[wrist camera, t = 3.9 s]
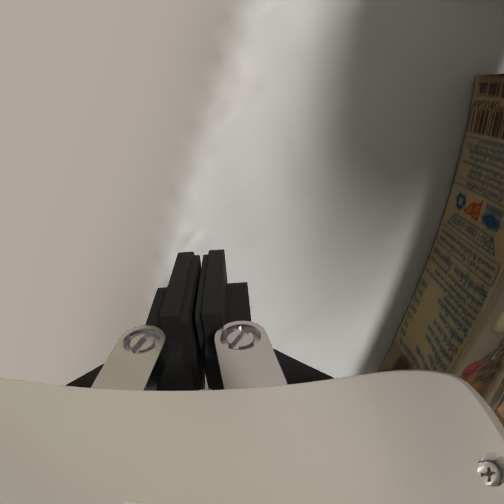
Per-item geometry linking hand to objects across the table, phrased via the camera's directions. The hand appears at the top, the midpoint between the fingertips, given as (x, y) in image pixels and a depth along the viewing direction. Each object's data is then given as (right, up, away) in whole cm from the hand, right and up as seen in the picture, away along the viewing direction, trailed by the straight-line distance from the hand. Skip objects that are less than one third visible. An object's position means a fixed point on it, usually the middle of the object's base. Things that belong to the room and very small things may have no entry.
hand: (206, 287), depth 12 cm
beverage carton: (+14, +1, +4) cm, 15 cm away
